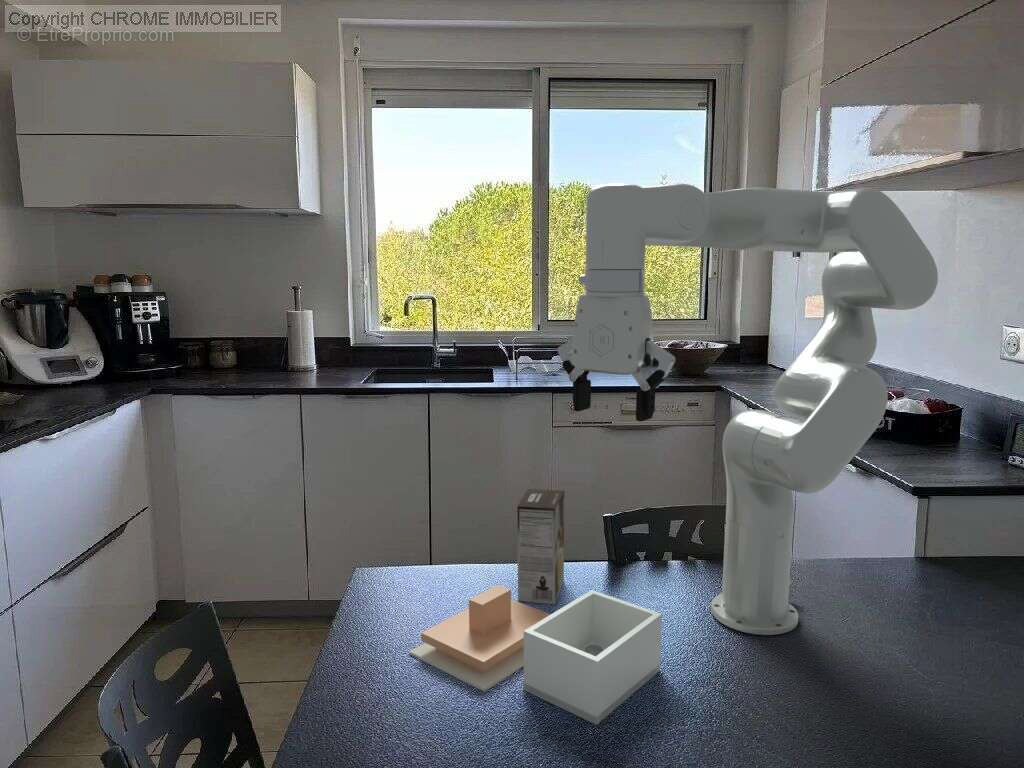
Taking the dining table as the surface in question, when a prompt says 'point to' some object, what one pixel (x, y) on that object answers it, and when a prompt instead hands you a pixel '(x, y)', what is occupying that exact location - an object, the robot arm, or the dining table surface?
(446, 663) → the mat
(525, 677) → the tub
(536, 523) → the coffee box
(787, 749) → the dining table surface
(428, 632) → the lid
